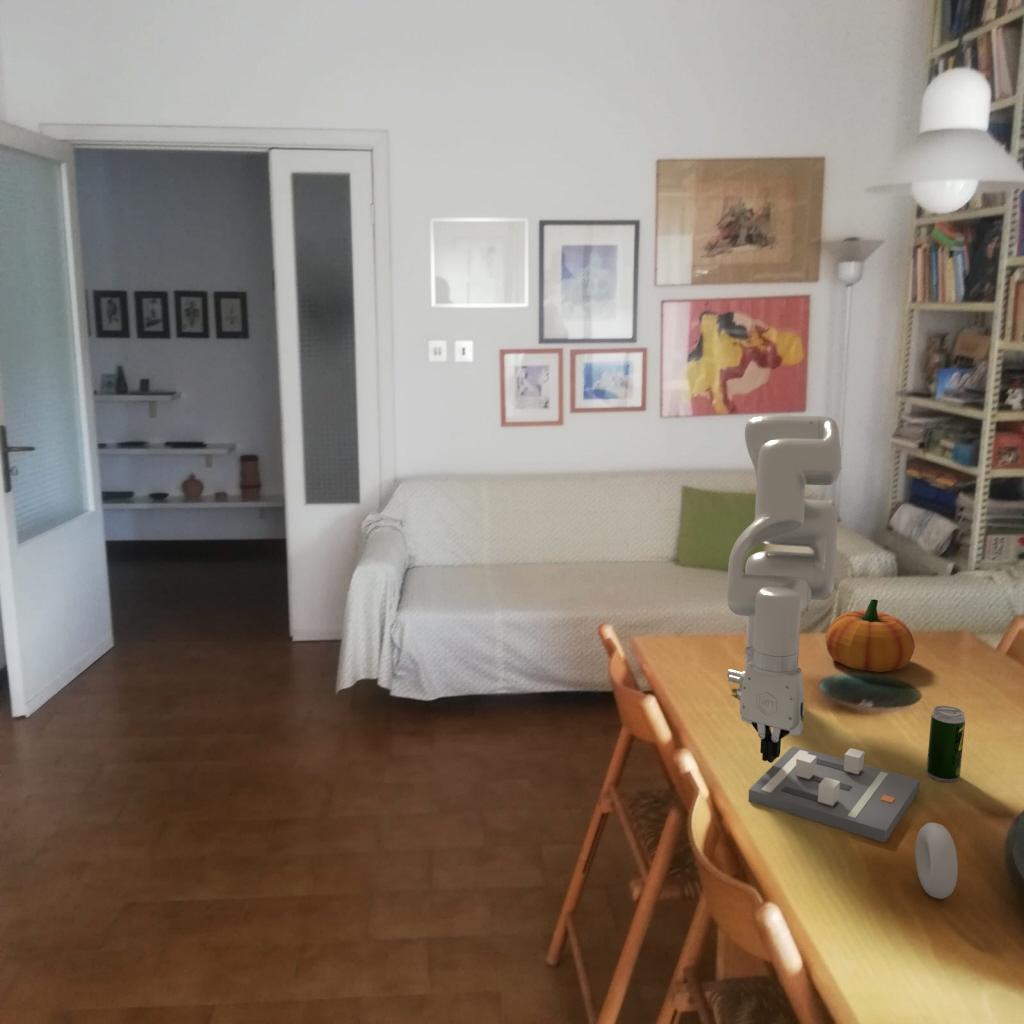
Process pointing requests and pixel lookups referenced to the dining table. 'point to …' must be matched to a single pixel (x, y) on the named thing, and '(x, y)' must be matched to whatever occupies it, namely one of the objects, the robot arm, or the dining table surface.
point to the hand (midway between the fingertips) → (769, 758)
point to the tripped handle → (806, 765)
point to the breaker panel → (837, 817)
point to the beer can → (945, 743)
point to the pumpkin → (870, 640)
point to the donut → (936, 860)
